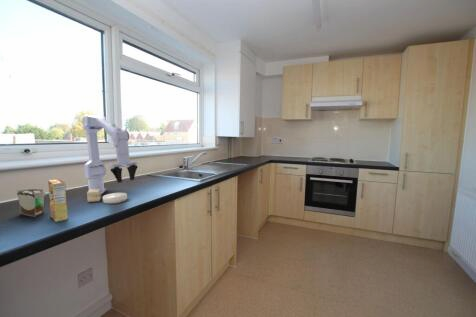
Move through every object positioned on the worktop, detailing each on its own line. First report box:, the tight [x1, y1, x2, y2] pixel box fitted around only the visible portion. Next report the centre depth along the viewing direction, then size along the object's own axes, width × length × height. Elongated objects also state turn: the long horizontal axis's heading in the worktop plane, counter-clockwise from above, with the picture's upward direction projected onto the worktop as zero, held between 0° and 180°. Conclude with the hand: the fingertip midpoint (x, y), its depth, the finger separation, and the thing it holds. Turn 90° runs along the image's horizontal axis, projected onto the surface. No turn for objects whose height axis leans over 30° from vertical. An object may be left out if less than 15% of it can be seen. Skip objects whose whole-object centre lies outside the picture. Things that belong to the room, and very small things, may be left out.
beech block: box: [86, 189, 102, 203], centre depth 115 cm, size 5×5×5 cm
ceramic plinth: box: [102, 192, 128, 205], centre depth 115 cm, size 11×11×2 cm
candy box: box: [47, 178, 68, 223], centre depth 91 cm, size 9×4×15 cm, turn 50°
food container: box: [16, 188, 47, 218], centre depth 96 cm, size 12×6×10 cm, turn 71°
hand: (126, 181), depth 113 cm, fingers open, 7 cm apart
